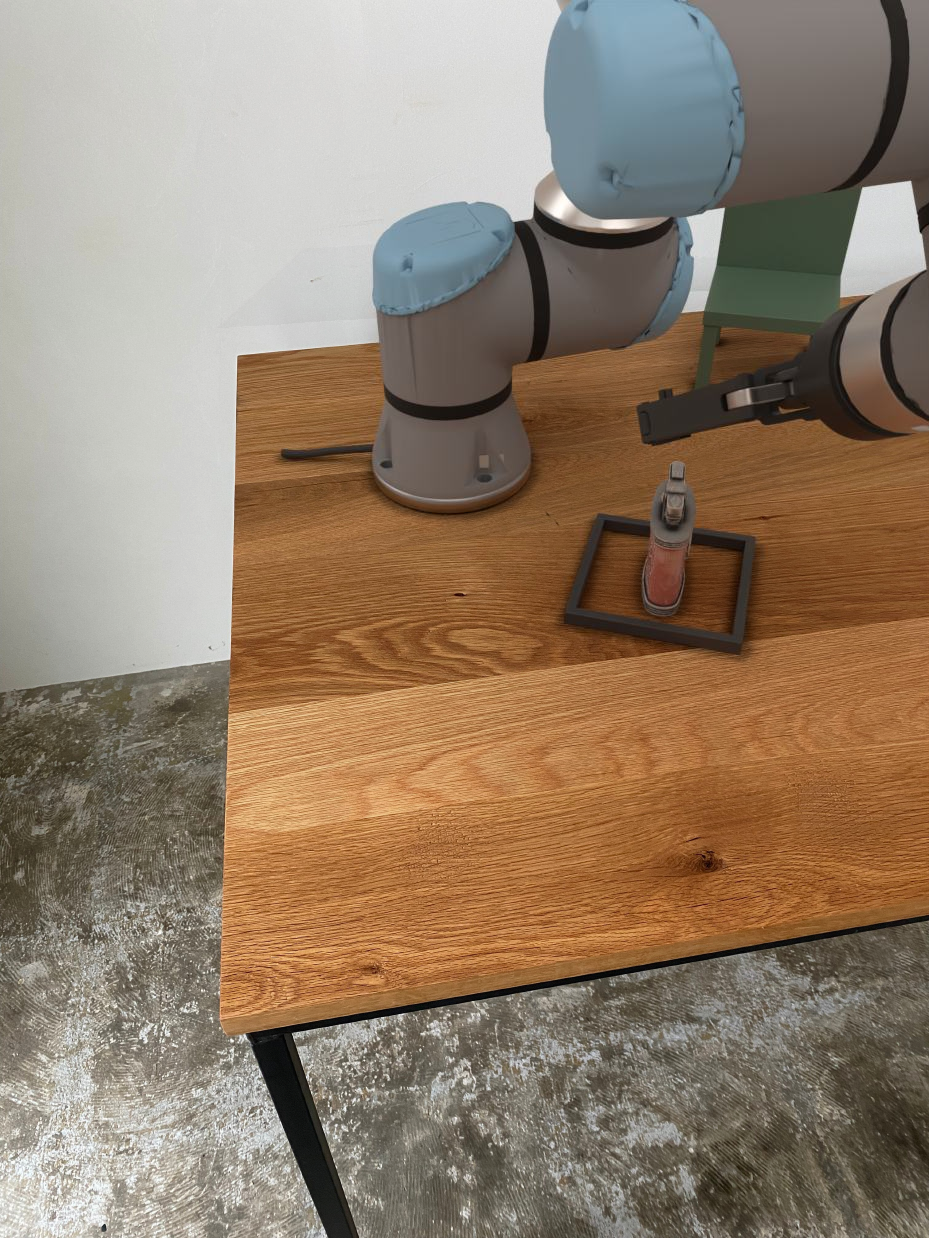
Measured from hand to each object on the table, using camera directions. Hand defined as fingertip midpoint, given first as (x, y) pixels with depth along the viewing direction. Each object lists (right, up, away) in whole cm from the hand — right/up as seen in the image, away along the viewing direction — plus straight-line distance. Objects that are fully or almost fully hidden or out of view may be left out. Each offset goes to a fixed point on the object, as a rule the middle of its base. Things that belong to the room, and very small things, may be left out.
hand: (742, 410), depth 69 cm
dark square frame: (-4, -12, +8) cm, 16 cm away
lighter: (-4, -13, +8) cm, 16 cm away
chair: (+12, +12, +34) cm, 38 cm away
